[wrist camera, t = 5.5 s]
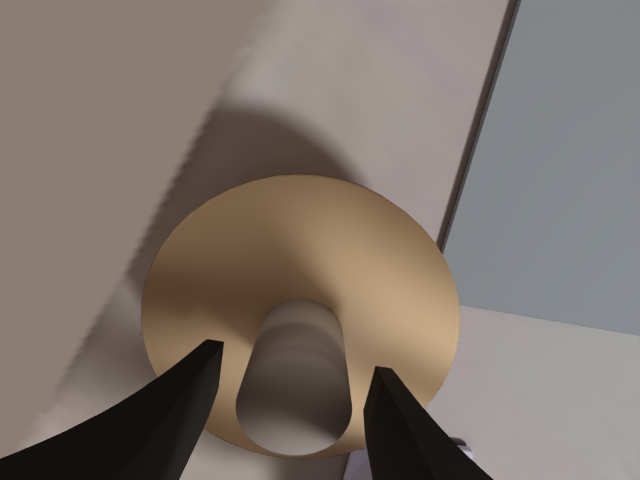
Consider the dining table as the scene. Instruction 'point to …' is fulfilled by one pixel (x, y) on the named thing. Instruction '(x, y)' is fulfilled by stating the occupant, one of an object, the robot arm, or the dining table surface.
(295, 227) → the lid
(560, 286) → the mat
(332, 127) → the dining table surface
